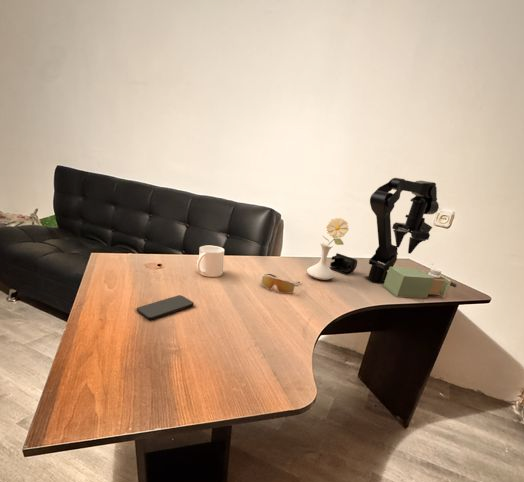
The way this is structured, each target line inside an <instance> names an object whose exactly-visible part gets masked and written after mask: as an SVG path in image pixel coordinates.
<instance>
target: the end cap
mask: <svg viewBox="0 0 524 482" xmlns="http://www.w3.org/2000/svg"><path fill="white" fill-rule="evenodd" d="M357 267H358V260H357V259H356V258H353V257H350V256H347V255H345V254H341V253H339V252H336V254H335V255H333V256H331V262H330V265H329V268H330V269H331V270H332V271H335V272H337V273H340V274H342V275H345V276H348V275H350V274H352V273H354V272H355V270H356V269H357Z"/></svg>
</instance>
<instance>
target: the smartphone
mask: <svg viewBox="0 0 524 482" xmlns="http://www.w3.org/2000/svg"><path fill="white" fill-rule="evenodd" d="M194 305H195V303H194V302H193V301H192V300H191V299H189V298H187V297H185V296H184V295H181V294H179V295H175V296H172V297H169V298H165V299H162V300H158V301H155V302H152V303H147V304H145V305H141V306H138V307H137V308H136V312H137V313H139V315H141V316H143V317H144V318H146V319H147V320H150V321H152V320H155V319H158V318H161V317H164V316H168V315H170V314H173V313H176V312H179V311H182V310H185V309H188V308H190V307H193V306H194Z"/></svg>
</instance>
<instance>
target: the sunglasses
mask: <svg viewBox="0 0 524 482" xmlns="http://www.w3.org/2000/svg"><path fill="white" fill-rule="evenodd" d="M301 284H302V281H298V282H297V283H295V282H293V281H292V282H291V281H289V280H286V279H282V278H279V277H276V275H275V274H273V273H265V274H262V275H261V285H262V286H263V287H264V288H266V289H267V290H269V291H272V290H273V289H274V288H275V287H276V290H277V292H278V293H279V294H293V293H294V291H295V288H296V287H298V286H301Z"/></svg>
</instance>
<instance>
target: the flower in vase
mask: <svg viewBox="0 0 524 482" xmlns="http://www.w3.org/2000/svg"><path fill="white" fill-rule="evenodd" d="M348 224H349V223H348V221H346V220H345V219H344V218H342V217H335V218H333V219H331V220H330V221H329V222H328V223H327V225H326V227H325V228H326V234H327V235H329V236H330V237H332V240H331V241H330V240H329V239H328V238H327V237H325V236H324V235H322V237H323V238H324V239H325V240H326V241H328V242H329V243H325V242H321V243H320V247H321V255H320V256H321V258H320V259H319V261H318V262H317V263H315V264H313V265H311V266H310V267H308V268H307V270H306V273H307V275H308V276H309V277H311V278H313V279H317V280H320V281H321V280H322V281H324V280H325V281H326V280H327V281H328V280H333V278H334V277H335V275H334V272H333V270H332V269H330V266H329V265H328V264H327V258H328V255H329V252H330V250H331V249H332V248H333V247H334V245H333V244H332V243H333V242H334V244H335V245H337V246H344V245H345V244H344V241H343V240H342V239H341V238H342V237H344V236H345V235H346V234H347V233H348V232H349V225H348Z"/></svg>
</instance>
